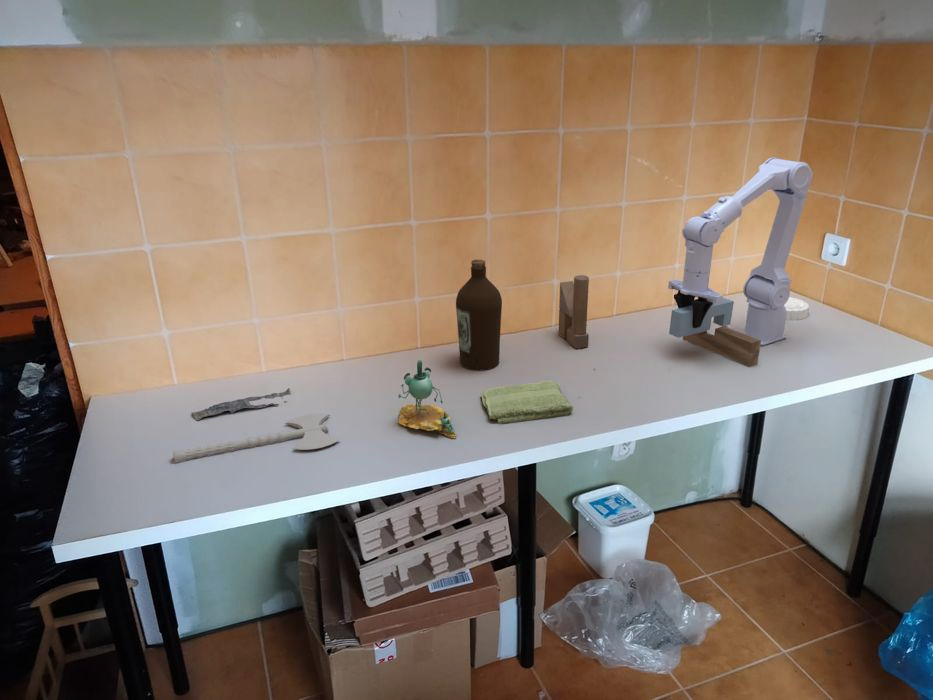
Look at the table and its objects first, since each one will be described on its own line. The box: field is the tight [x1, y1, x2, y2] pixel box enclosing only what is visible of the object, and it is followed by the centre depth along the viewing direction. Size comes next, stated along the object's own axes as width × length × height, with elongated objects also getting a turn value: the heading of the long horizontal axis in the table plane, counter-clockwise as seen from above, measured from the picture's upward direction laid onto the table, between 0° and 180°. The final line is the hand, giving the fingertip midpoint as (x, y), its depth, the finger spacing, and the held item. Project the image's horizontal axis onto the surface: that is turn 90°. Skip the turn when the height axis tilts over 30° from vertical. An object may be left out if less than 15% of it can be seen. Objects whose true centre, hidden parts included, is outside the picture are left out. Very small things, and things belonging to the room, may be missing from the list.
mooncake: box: [784, 296, 810, 321], centre depth 195 cm, size 12×12×4 cm
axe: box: [172, 413, 341, 464], centre depth 135 cm, size 30×14×2 cm, turn 111°
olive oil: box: [455, 259, 503, 371], centre depth 163 cm, size 11×11×25 cm
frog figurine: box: [397, 359, 457, 439], centre depth 140 cm, size 10×18×15 cm, turn 29°
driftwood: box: [191, 387, 292, 421], centre depth 150 cm, size 21×7×2 cm, turn 111°
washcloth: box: [480, 379, 574, 425], centre depth 147 cm, size 13×18×3 cm
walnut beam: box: [682, 326, 761, 368], centre depth 171 cm, size 3×20×6 cm, turn 32°
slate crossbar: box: [668, 297, 735, 339], centre depth 169 cm, size 18×3×6 cm, turn 122°
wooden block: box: [558, 274, 590, 350], centre depth 176 cm, size 4×11×18 cm, turn 17°
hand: (690, 324), depth 168 cm, fingers closed on slate crossbar, 3 cm apart
